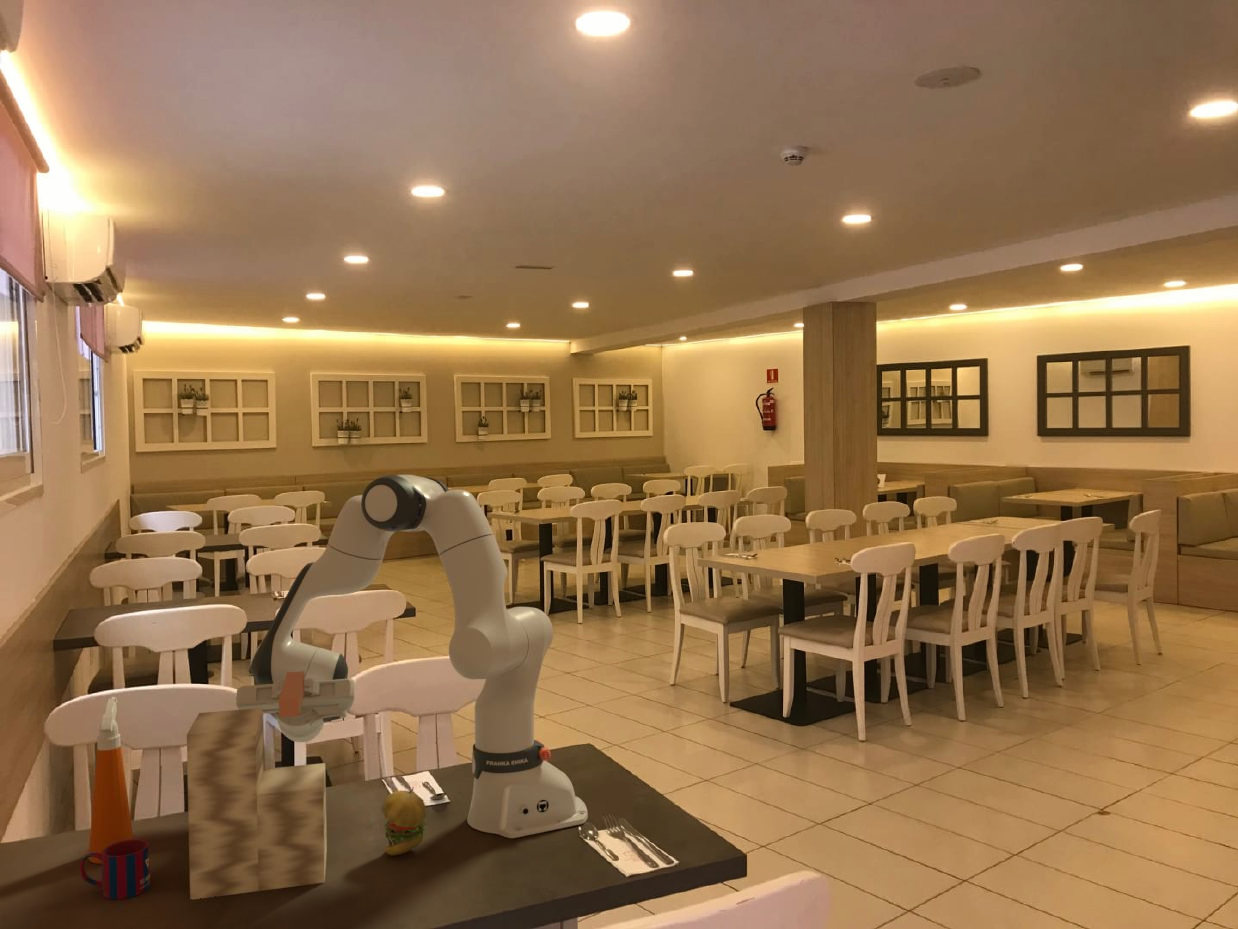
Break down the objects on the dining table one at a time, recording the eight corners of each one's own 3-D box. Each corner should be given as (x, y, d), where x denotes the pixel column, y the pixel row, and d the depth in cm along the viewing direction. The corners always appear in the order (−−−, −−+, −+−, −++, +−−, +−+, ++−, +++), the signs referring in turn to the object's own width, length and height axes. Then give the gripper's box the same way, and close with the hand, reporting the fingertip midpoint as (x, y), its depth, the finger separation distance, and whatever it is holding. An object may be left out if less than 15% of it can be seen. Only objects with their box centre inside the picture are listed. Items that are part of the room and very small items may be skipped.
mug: (139, 899, 147) (138, 856, 147) (73, 902, 147) (72, 858, 146) (157, 879, 154) (156, 838, 154) (93, 882, 153) (92, 840, 153)
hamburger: (403, 841, 167) (402, 774, 167) (435, 849, 164) (434, 781, 164) (373, 859, 161) (372, 789, 160) (406, 867, 157) (405, 796, 157)
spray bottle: (139, 836, 171) (136, 691, 170) (131, 860, 161) (128, 707, 160) (95, 842, 168) (92, 696, 168) (84, 867, 158) (80, 712, 158)
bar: (304, 687, 170) (304, 671, 170) (298, 716, 152) (298, 697, 152) (287, 688, 169) (287, 672, 169) (279, 717, 152) (279, 699, 152)
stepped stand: (326, 851, 164) (324, 703, 163) (324, 882, 152) (321, 723, 151) (202, 866, 158) (199, 713, 158) (190, 900, 147) (186, 734, 146)
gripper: (240, 692, 175) (231, 670, 163) (354, 684, 181) (353, 662, 169) (238, 726, 172) (229, 706, 161) (354, 717, 178) (354, 697, 166)
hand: (294, 684), depth 165 cm, fingers closed on bar, 3 cm apart
